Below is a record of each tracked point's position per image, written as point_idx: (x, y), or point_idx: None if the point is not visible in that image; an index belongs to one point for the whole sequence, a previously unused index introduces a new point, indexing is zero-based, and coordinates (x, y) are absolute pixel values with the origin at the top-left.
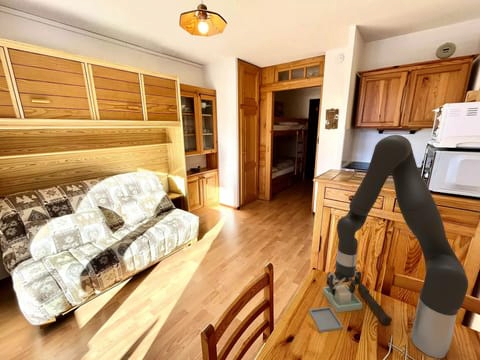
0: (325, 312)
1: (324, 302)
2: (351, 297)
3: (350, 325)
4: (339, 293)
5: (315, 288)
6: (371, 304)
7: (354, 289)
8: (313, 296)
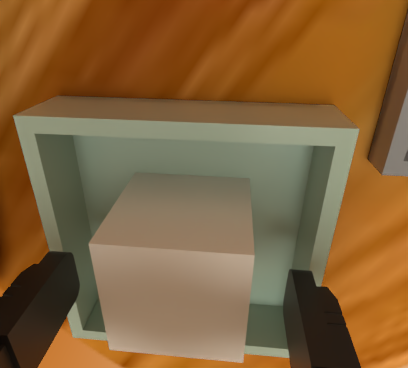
0: None
1: (352, 232)
2: (87, 225)
3: None
4: (243, 281)
5: None
6: None
7: (15, 288)
8: (398, 297)
